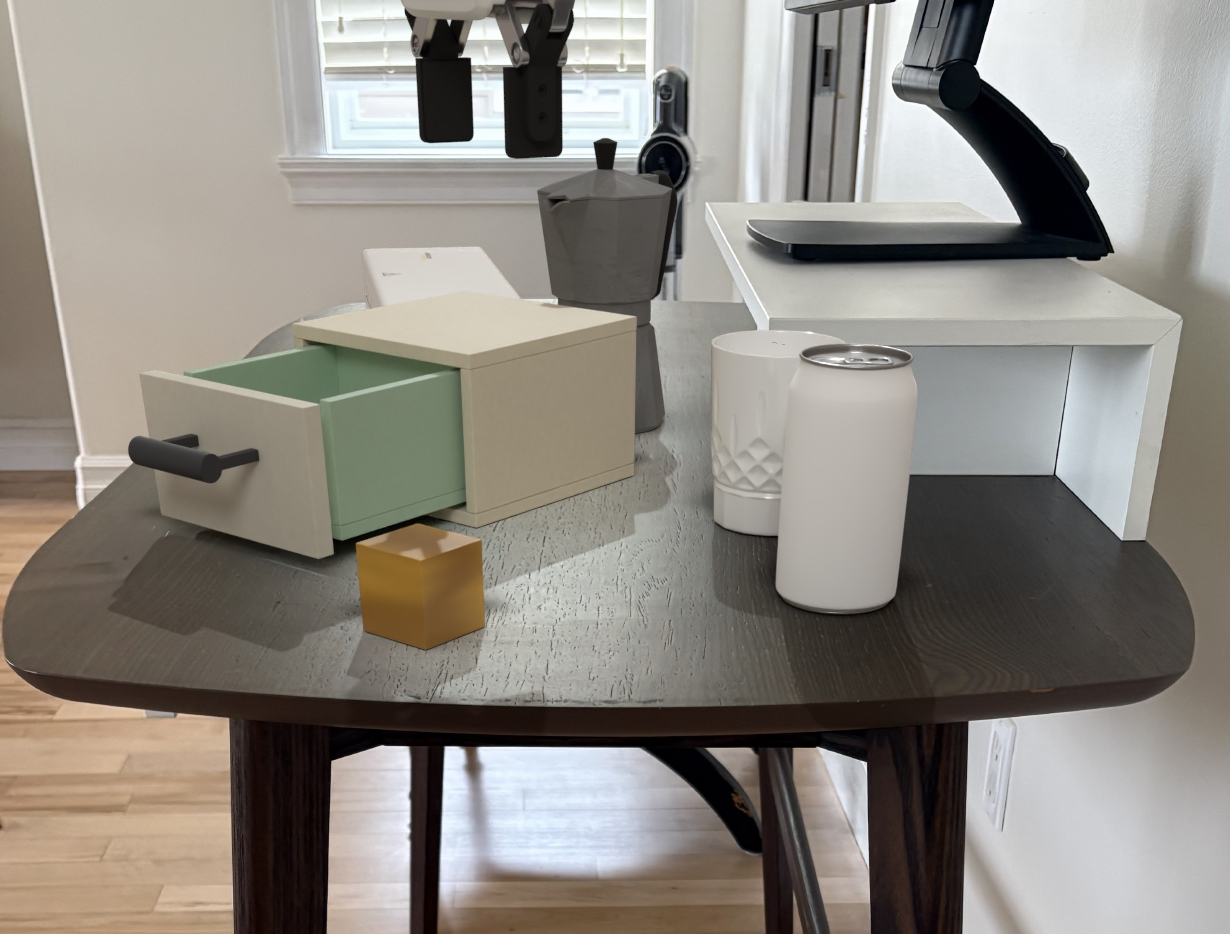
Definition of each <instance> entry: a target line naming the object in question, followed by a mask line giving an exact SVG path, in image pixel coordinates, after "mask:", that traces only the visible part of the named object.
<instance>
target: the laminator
mask: <svg viewBox="0 0 1230 934" xmlns="http://www.w3.org/2000/svg"><path fill="white" fill-rule="evenodd" d="M361 262H362V263H361V264H362V274H363V275H362V276H363V287H364V288H363V289H364V300H365V310H366V309H372V308H377V307H382V306H387V305H393V304H398V303H403V302H409V301H414V300H419V299H425V298H430V297H435V296H440V295H446V294H451V293H456V292H462V291H469V292H476V293H482V294H489V295H496V296H502V297H509V298H516V299H522V298H521V296H520V295H519V293H518V292H517V291H516V290H515V288H514V287H513V286H512V284H511V283H510V282H509V281H508V280H507V278H506V277H505V276H504V274H503V273H502V272H501V270H500V269H499V268H498V267H497V265H495V263H494V262H493V260H492V259H491V258H490V257H489V255H488V254H487V253H486V252H485V250H484V249H483V247H481V246H478V245H477V246H475V245H474V246H430V247H429V246H425V247H422V246H421V247H420V246H419V247H376V248H375V247H373V248H372V247H371V248H370V247H369V248H364V249H363V250H362V251H361Z"/></svg>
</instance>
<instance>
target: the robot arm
mask: <svg viewBox="0 0 1230 934" xmlns="http://www.w3.org/2000/svg"><path fill="white" fill-rule="evenodd" d="M400 2H401V4H402V6H403V7H404V15H405V17H406V20H407V23H408V25H409V28H410V30H411V34H410V50H411V53H412V56H413V57H414V59H415V61H414V62H415V73H416V74H415V78H416V98H417V117H418V133H419V135H418V136H419V139H420V140H421V142H423V143H426V144H446V143H447V144H448V143H449V144H450V143H469V142H471V141H472V140H473V138H474V134H475V132H474V129H475V128H474V104H473V103H474V102H473V101H474V100H473V73H472V57H470V56H469V57H467V56H465V57H463V54H464V51H465V48H466V44H467V41H468V38H469V35H470V32H471V28H472V26H473V22H474V21H482V20H484V19H486V18H489V19H495V22H496V24H497V27H498V29H499V32H500V35H501V38H502V40H503V43H504V46H505V49H506V52H507V54H508V57H509V60H510V63H511V65H512V66H503V67H502V84H503V85H502V87H503V89H502V90H503V119H504V120H503V122H504V123H503V125H504V152H505V155H506V156H507V157H508V158H510V159H513V160H514V159H515V160H524V159H544V158H546V159H547V158H557V157H560V156H561V155H562V154H563V153H562V152H563V149H564V148H563V147H564V145H563V143H564V142H563V138H564V137H563V136H564V135H563V68H564V67H565V66H566V64H567V62H568V57H569V51H568V46H567V45H568V44H567V41H568V39H569V37H570V34H571V32H572V30H573V28H574V24H575V15H574V11H573V10H574V7H575V2H576V0H400ZM448 20H450V23H449V21H448ZM523 25H527V26H526V29H525V31H524V28H523Z"/></svg>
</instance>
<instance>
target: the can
mask: <svg viewBox="0 0 1230 934" xmlns="http://www.w3.org/2000/svg"><path fill="white" fill-rule="evenodd" d="M799 356H800V358H801V361H800V365H799V367H798V369H797V371H796V373H795V375H794V377H793V379H792V381H791V384H790V387H789V394H788V404H787V417H786V431H785V445H784V460H783V474H782V489H781V504H780V519H779V534H778V536H777V551H776V568H775V590H776V592H778V594H779V595H780V597H781V599H782V600H783V601H784V602H785V603H786V604H788V605H789V606H790V607H793V608H796V609H799V610H802V611H805V612H809V613H815V614H822V615H831V616H852V615H853V616H854V615H861V614H862V615H863V614H867V613H872V612H876V611H879V610H882V609H883V608H886V606H887V605H889V604H890V601H892V600H893V599H894V598H895V596H896V594H897V589H898V579H899V572H900V563H901V556H902V555H901V554H902V546H903V540H904V539H903V537H904V529H905V519H906V512H907V511H906V510H907V502H908V493H909V485H910V477H911V476H910V475H911V466H912V457H913V449H914V439H915V430H916V422H917V421H916V420H917V410H918V400H919V399H918V397H919V390H918V389H919V388H918V385H917V382H916V379H915V376H914V373H913V368H912V363H913V362H914V359H915V357H914V355H913V354H912V353H910V352H909V351H906V350H903V349H900V348H896V347H892V346H885V345H877V344H868V343H867V344H866V343H848V344H828V345H819V346H813V347H809V348H806V349H804V350H802V351H801V352H800V354H799Z"/></svg>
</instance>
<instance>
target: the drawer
mask: <svg viewBox="0 0 1230 934" xmlns="http://www.w3.org/2000/svg"><path fill="white" fill-rule="evenodd" d="M460 369H461V368H458V367H453V366H447V365H442V364H436V363H431V362H425V361H420V360H414V359H409V358H403V357H398V356H392V355H387V354H381V353H376V352H370V351H365V350H359V349H354V348H349V347H343V346H338V345H332V344H327V343H321V344H316V345H311V346H306V347H301V348H297V349H295V348H292V349H287V350H283V351H277V352H273V353H268V354H267V353H266V354H263V355H259V356H258V355H257V356H253V357H248V358H243V359H238V360H233V361H228V362H223V363H218V364H212V365H209V366H202V367H198V368H194V369H189V370H188V369H187V370H185V371H183V374H178V373H173V372H168V371H164V370H159V369H153V370H149V371H148V370H147V371H142V372H139V381H140V387H141V393H142V402H143V407H144V413H145V421H146V425H147V426H146V427H147V432H148V437H147V436H144V435H143V436H142V435H136V436H134V437H132V439H130V441H129V442H128V447H127V454H128V457H129V459H130V461H131V462H132V463H133V464H135V465H137V466H141V467H145V468H148V469H152V470H153V472H154V477H155V484H156V490H157V496H158V497H157V498H158V503H159V510H160V515H161V516H163V517H168V518H171V519H174V520H178V521H181V522H184V523H189V524H192V525H195V526H200V527H203V528H206V529H210V530H213V531H217V532H220V533H223V534H228V535H231V536H234V537H238V538H242V539H245V540H249V541H252V542H256V543H259V544H263V545H267V546H270V547H274V548H278V549H281V550H285V551H288V552H292V553H296V554H299V555H302V556H306V557H308V558H313V559H317V560H321V559H324V558H326V557H330V556H333V555H334V554H335V552H334V541H333V539H335V540H339V541H345V540H348V539H352V538H354V537H355V538H356V537H358V536H362V535H364V534H368V533H371V532H374V531H377V530H380V529H383V528H387V527H389V526H393V525H397V524H399V523H402V522H405V521H409V520H412V519H414V518H418V517H422V516H426V515H425V514H428V513H431V512H434V511H437V510H441V509H444V508H447V507H450V506H453V505H456V504H460V503H463V502H466V482H465V460H464V438H463V416H462V394H461V372H460Z"/></svg>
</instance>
